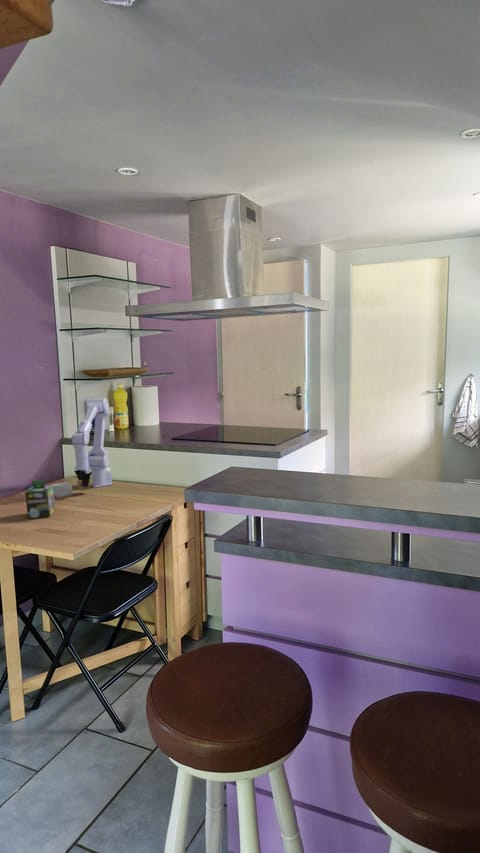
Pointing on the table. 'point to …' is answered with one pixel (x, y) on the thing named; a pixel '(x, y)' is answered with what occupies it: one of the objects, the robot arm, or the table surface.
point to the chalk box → (40, 500)
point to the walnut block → (80, 485)
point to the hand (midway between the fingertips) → (84, 485)
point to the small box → (62, 489)
